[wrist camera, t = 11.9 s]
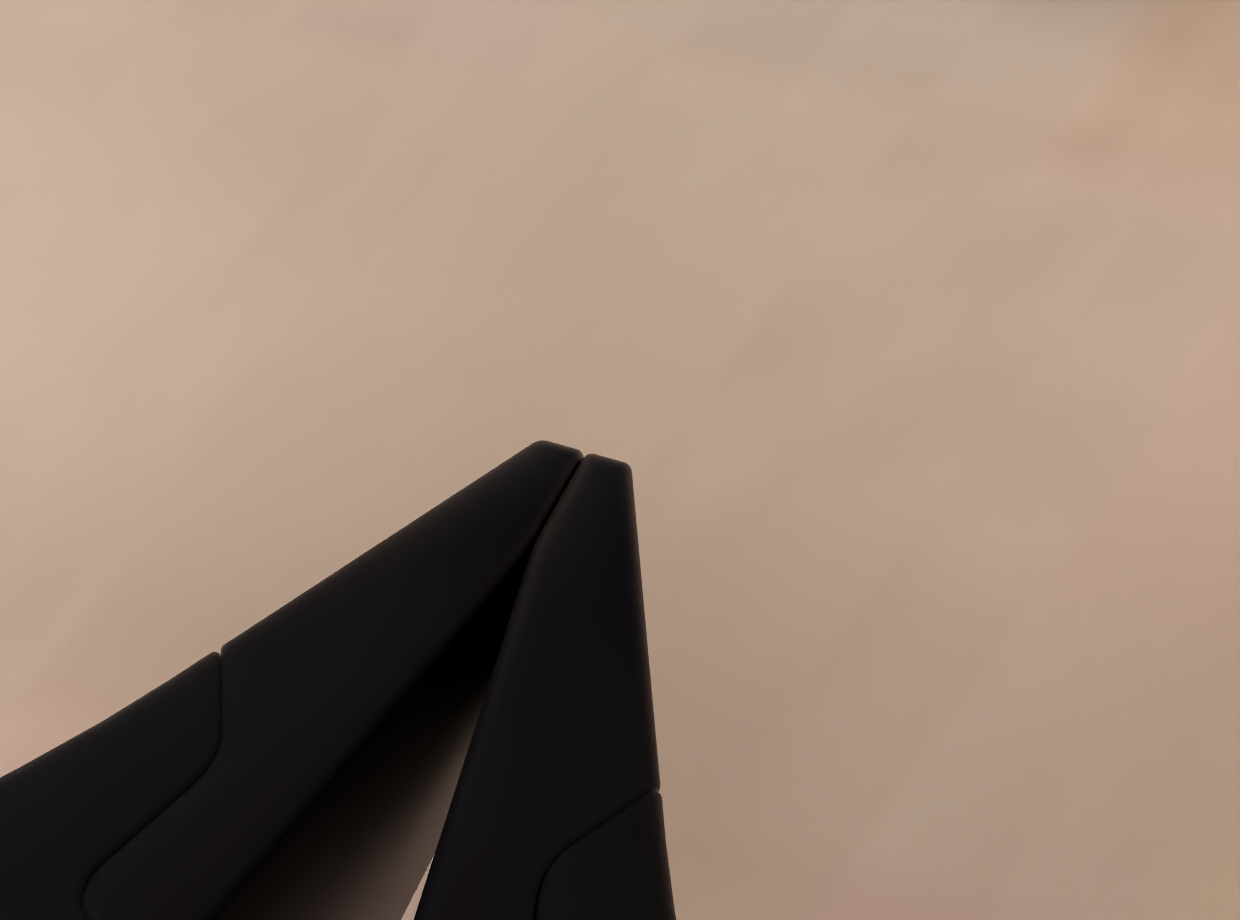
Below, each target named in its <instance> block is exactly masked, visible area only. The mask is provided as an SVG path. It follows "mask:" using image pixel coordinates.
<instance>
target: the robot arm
mask: <svg viewBox="0 0 1240 920" xmlns="http://www.w3.org/2000/svg"><path fill="white" fill-rule="evenodd" d="M659 789H660V778H659V767H658V756H657V745H656V734H655V723H654V712H653V701H652V690H651V679H650V667H649V656H648V645H647V634H646V623H645V612H644V601H643V590H642V579H641V568H640V557H639V546H638V535H637V524H636V513H635V502H634V491H633V480H632V471H631V468H630V466H629V465H628V464H627V463H625V462H621V461H618V460H614V459H610V458H607V457H603V456H599V455H596V454H588V455H586V456H585V457H583V455H582V453H581V452H580V451H579V450H577V449H574V448H571V447H567V446H563V445H560V444H556V443H552V442H549V441H543V440H541V441H537V442H534V443H533V444H531V445H530V446H528V447H526V448H525V449H523V450H522V451H520V452H519V453H517V454H516V455H514V456H513V457H511V458H510V459H508V460H507V461H505V462H503V463H502V464H500V465H499V466H497V467H496V468H494V469H493V470H491V471H490V472H488V473H487V474H485V475H484V476H482V477H480V478H479V479H477V480H476V481H474V482H473V483H471V484H470V485H468V486H467V487H465V488H464V489H462V490H461V491H459V492H458V493H456V494H454V495H453V496H451V497H450V498H448V499H447V500H445V501H444V502H442V503H441V504H439V505H438V506H436V507H435V508H433V509H431V510H430V511H428V512H427V513H425V514H424V515H422V516H421V517H419V518H418V519H416V520H415V521H413V522H412V523H410V524H409V525H407V526H405V527H404V528H402V529H401V530H399V531H398V532H396V533H395V534H393V535H392V536H390V537H389V538H387V539H386V540H384V541H382V542H381V543H379V544H378V545H376V546H375V547H373V548H372V549H370V550H369V551H367V552H366V553H364V554H363V555H361V556H359V557H358V558H356V559H355V560H353V561H352V562H350V563H349V564H347V565H346V566H344V567H343V568H341V569H340V570H338V571H337V572H335V573H333V574H332V575H330V576H329V577H327V578H326V579H324V580H323V581H321V582H320V583H318V584H317V585H315V586H314V587H312V588H310V589H309V590H307V591H306V592H304V593H303V594H301V595H300V596H298V597H297V598H295V599H294V600H292V601H291V602H289V603H287V604H286V605H284V606H283V607H281V608H280V609H278V610H277V611H275V612H274V613H272V614H271V615H269V616H268V617H266V618H265V619H263V620H261V621H260V622H258V623H257V624H255V625H254V626H252V627H251V628H249V629H248V630H246V631H245V632H243V633H242V634H240V635H238V636H237V637H235V638H234V639H232V640H231V641H229V642H228V643H226V644H225V645H223V647H222V648H221V655H220V654H219V653H217V652H212V653H210V654H209V655H207V656H206V657H204V658H203V659H201V660H199V661H198V662H196V663H195V664H193V665H192V666H190V667H189V668H187V669H186V670H184V671H183V672H181V673H180V674H178V675H176V676H175V677H173V678H172V679H170V680H169V681H167V682H165V683H164V684H162V685H161V686H159V687H157V688H156V689H154V690H153V691H151V692H149V693H148V694H146V695H144V696H143V697H141V698H140V699H138V700H136V701H135V702H133V703H132V704H130V705H128V706H127V707H125V708H123V709H122V710H120V711H119V712H117V713H115V714H114V715H112V716H110V717H109V718H107V719H106V720H104V721H102V722H100V723H99V724H97V725H95V726H93V727H91V728H90V729H88V730H86V731H84V732H83V733H81V734H79V735H77V736H75V737H74V738H72V739H70V740H68V741H66V742H65V743H63V744H61V745H59V746H57V747H56V748H54V749H52V750H50V751H49V752H47V753H45V754H43V755H41V756H40V757H38V758H36V759H34V760H32V761H31V762H29V763H27V764H25V765H23V766H21V767H20V768H18V769H16V770H14V771H12V772H10V773H8V774H6V775H5V776H3V777H1V778H0V920H401V919H402V917H403V915H404V913H405V911H406V909H407V907H408V905H409V903H410V901H411V899H412V897H413V895H414V893H415V891H416V889H417V887H418V885H419V883H420V881H421V879H422V877H423V875H424V873H425V871H426V869H427V867H428V865H429V863H430V861H431V859H432V857H433V855H434V853H435V855H434V858H433V861H432V864H431V867H430V870H429V874H428V877H427V880H426V883H425V886H424V889H423V892H422V896H421V899H420V902H419V905H418V908H417V911H416V914H415V918H414V920H676V916H675V910H674V903H673V895H672V887H671V879H670V871H669V863H668V855H667V847H666V839H665V828H664V817H663V806H662V797H661V795H660V794H659V793H658V792H659ZM435 851H436V852H435Z"/></svg>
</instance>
